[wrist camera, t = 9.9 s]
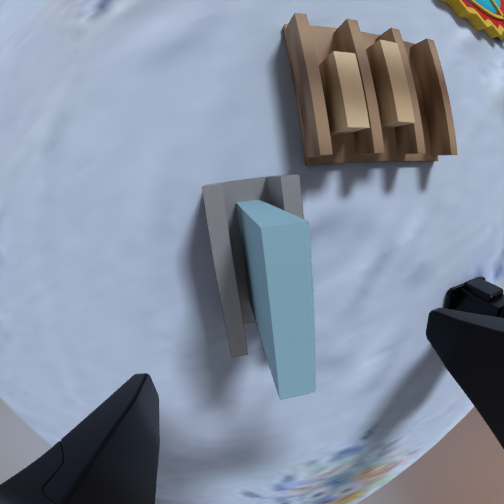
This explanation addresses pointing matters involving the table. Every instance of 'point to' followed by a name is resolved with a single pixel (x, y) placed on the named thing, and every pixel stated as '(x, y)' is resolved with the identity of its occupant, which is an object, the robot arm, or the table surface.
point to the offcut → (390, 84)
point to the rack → (368, 97)
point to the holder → (229, 242)
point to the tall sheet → (280, 292)
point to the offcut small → (343, 93)
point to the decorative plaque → (482, 14)
